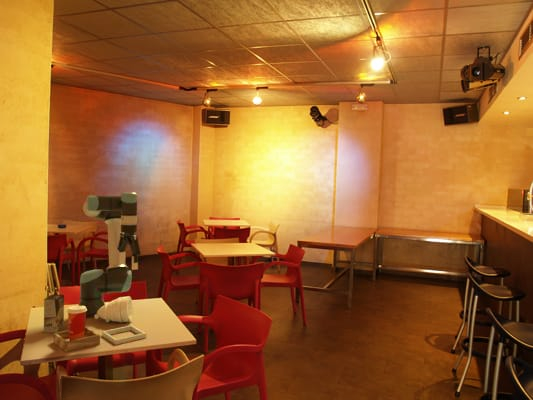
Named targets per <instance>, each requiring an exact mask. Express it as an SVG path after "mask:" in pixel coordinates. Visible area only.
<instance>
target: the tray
mask: <svg viewBox="0 0 533 400" xmlns="http://www.w3.org/2000/svg"><path fill="white" fill-rule="evenodd" d="M130 331H132V332H133V333H134V334H135V335H130V336H125V337H121V338H116V337H114V336H113V335H115V334H119V333H123V332H130ZM101 336H102V337H103V338H105V339H106V340H108V341H109V342H111V343H112V344H114V345H115V346H116V345H119V344H120V345H121V344H124V343H128V342H133V341H137V340H141V339H142V340H143V339H146V338H147V332H145V331H143V330H142V329H139V328H137V327H136V326H135V325H133V324H131V325H126V326H122V327H117V328H113V329H108V330H104V331H101Z"/></svg>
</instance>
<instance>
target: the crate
mask: <svg viewBox="0 0 533 400" xmlns="http://www.w3.org/2000/svg"><path fill="white" fill-rule="evenodd" d="M53 343H54V344H56V345H57V346H58V347H59V348H60V349H61V350H62V351H63V352H65V353H66V352H71V351H75V349H76V350H80V349H84V348H87V347H88V348H89V347H93V346H98V345H100V344H101V335H100V334H99V333H97V332H96V331H94V330H93V329H92V328H90V327H89V326H85V335H84V338H81V339H76V340H71V341H70V339H69V329H68V330H63V331H58V332H53ZM70 350H71V351H70Z"/></svg>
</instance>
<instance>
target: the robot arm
mask: <svg viewBox="0 0 533 400" xmlns="http://www.w3.org/2000/svg"><path fill="white" fill-rule="evenodd" d="M138 201H139V199H138V194H137V193H136V192H122V193H121V195H95V194H94V195H88V196H87V197H86V201H85V202H84V203H83V205H82V212H83V214H84V215H85V216H87V217H88V218H91V219H94V220H104V223H105V224H106V225H107V238H108V239H107V241H108V242H107V244H108V246H107V247H108V264H109V265H108V267H107V268H106V271H104V269H92V270H87V271H84V272H82V273H81V275H80V278H79V279H80V281H79V285H80V286H79V288H80V290H79V294H80V295H79V302H78V305H77V306H85V307H86V309H87V311H86V318H95V314H97V311H98V310H99V309H100V308H101V307H102V306H104V305H105V303H106V302H105V301H104V294H112V293H113V294H115V293H124V292H128V291H129V290H130V289H131V285H132V279H133V277H132V275H133V273H132V271H134V270H139V256H141V248H140V243H139V240H138V235H137V234H136V235H135V233H137V231H138ZM128 245H129V248H130V251H131V254H132V255H131V270H132V271H131V270H130V269H129V266H127V264H126V249H127V246H128Z"/></svg>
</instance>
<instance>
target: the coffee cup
mask: <svg viewBox="0 0 533 400" xmlns="http://www.w3.org/2000/svg"><path fill="white" fill-rule="evenodd" d="M86 311H87V309H86V307H85V306H78V305H73V306H70V307H68V308H67V311H66V312H67V318H68V319H67V320H68V322H67V323H68V330H69V339H70V341H71V340H76V339H81V338H84V335H85V327H86V320H87V317H86Z"/></svg>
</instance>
